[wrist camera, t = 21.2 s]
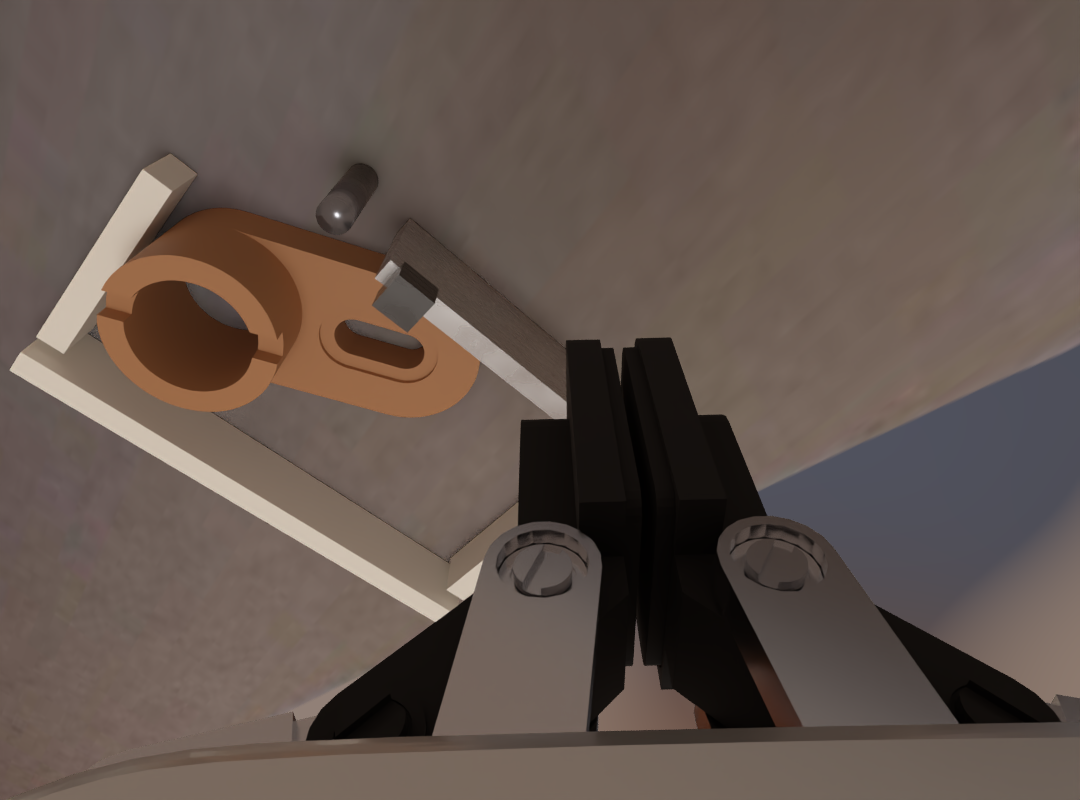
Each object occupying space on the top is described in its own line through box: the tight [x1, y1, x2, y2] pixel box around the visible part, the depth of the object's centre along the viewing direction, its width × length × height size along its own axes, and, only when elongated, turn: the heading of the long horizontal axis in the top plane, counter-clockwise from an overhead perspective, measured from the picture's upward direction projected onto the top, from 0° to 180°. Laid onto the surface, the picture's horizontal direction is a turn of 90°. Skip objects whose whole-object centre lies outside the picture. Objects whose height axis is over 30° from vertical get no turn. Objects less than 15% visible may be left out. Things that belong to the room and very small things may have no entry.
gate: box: [372, 218, 567, 419], centre depth 38 cm, size 18×2×8 cm, turn 47°
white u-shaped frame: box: [10, 153, 518, 622], centre depth 42 cm, size 14×30×4 cm, turn 47°
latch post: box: [316, 164, 378, 235], centre depth 34 cm, size 2×2×6 cm
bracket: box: [97, 208, 480, 417], centre depth 38 cm, size 18×8×7 cm, turn 71°
